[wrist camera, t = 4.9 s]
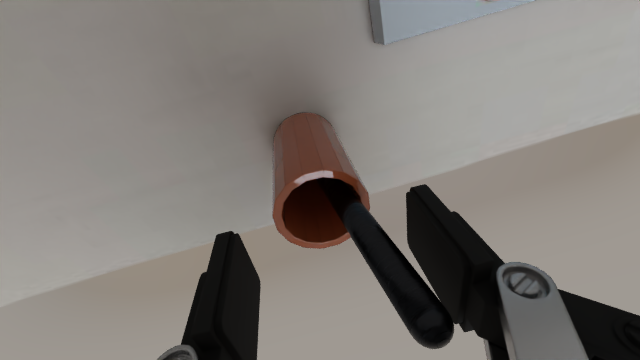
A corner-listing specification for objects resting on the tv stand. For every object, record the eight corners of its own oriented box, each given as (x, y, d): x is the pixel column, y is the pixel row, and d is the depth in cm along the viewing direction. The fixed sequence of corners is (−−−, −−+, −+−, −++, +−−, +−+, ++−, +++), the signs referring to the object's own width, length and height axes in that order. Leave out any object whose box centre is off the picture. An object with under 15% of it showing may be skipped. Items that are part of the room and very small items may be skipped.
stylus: (299, 157, 19) (423, 365, 7) (295, 141, 18) (424, 341, 7) (316, 152, 19) (462, 346, 8) (312, 136, 19) (466, 322, 7)
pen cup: (282, 177, 20) (287, 257, 14) (265, 120, 18) (260, 184, 11) (340, 163, 21) (373, 236, 14) (330, 105, 18) (364, 159, 11)
